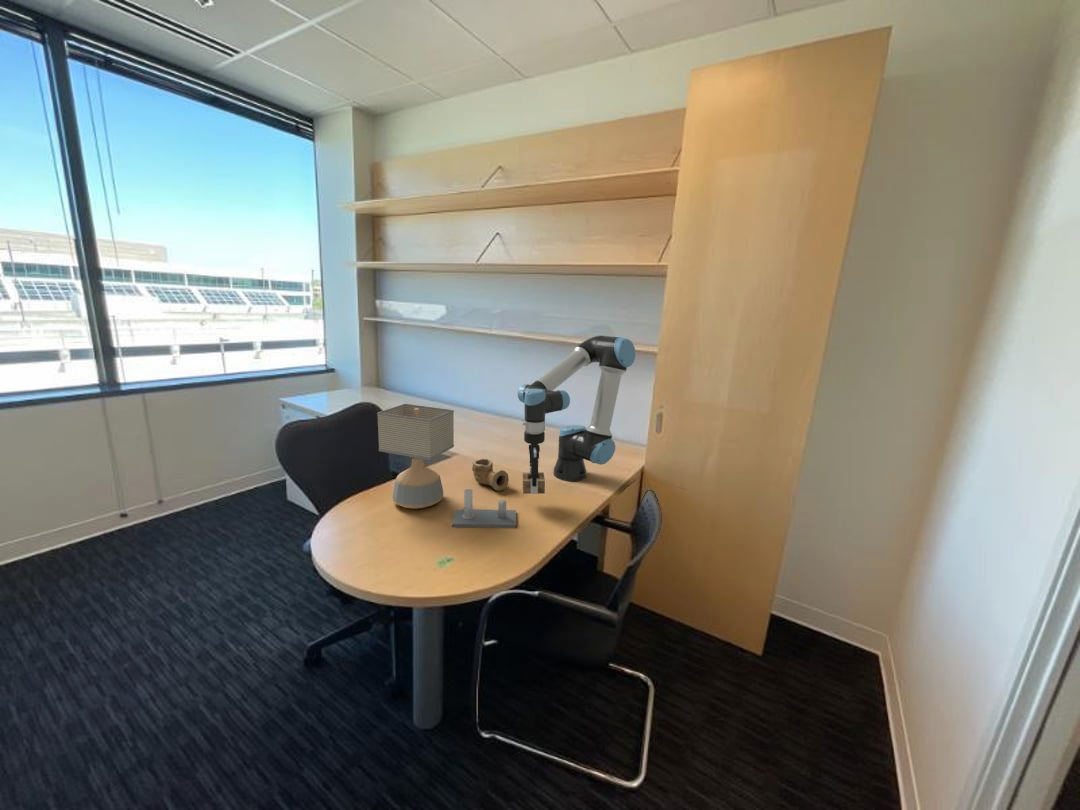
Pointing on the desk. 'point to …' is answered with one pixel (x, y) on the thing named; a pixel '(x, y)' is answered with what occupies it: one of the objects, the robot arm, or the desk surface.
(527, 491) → the collar
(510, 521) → the post board
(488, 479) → the pipe
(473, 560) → the desk surface
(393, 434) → the desk lamp
